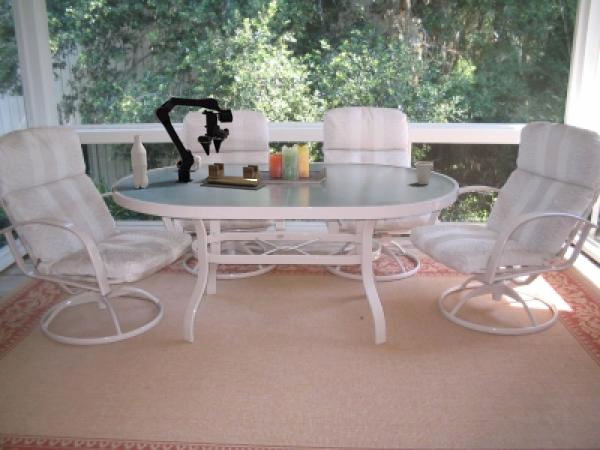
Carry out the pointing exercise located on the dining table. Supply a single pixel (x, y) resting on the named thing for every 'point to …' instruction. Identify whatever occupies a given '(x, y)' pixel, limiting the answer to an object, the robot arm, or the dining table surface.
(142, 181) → the water bottle
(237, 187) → the rubber mat
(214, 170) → the rail stand
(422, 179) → the dixie cup
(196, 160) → the penguin figurine
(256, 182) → the bronze rail
